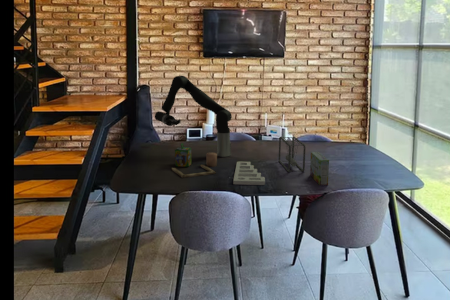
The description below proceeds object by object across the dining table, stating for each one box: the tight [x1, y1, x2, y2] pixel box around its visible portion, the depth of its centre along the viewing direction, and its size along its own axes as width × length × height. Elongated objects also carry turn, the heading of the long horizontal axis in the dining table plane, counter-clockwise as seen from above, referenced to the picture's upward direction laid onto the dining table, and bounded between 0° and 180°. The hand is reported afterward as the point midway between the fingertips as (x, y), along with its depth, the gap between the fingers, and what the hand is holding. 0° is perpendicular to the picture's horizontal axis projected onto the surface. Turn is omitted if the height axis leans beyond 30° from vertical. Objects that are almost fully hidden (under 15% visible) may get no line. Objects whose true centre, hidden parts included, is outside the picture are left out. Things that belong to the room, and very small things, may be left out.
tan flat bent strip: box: [171, 164, 217, 179], centre depth 281 cm, size 22×20×1 cm
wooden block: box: [205, 152, 218, 168], centre depth 296 cm, size 7×7×8 cm
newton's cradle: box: [278, 136, 306, 173], centre depth 293 cm, size 30×10×18 cm, turn 5°
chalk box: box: [174, 142, 192, 168], centre depth 295 cm, size 9×9×15 cm
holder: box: [232, 161, 266, 186], centre depth 276 cm, size 45×18×3 cm, turn 176°
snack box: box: [309, 151, 330, 186], centre depth 263 cm, size 21×6×15 cm, turn 5°
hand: (176, 123), depth 309 cm, fingers closed
